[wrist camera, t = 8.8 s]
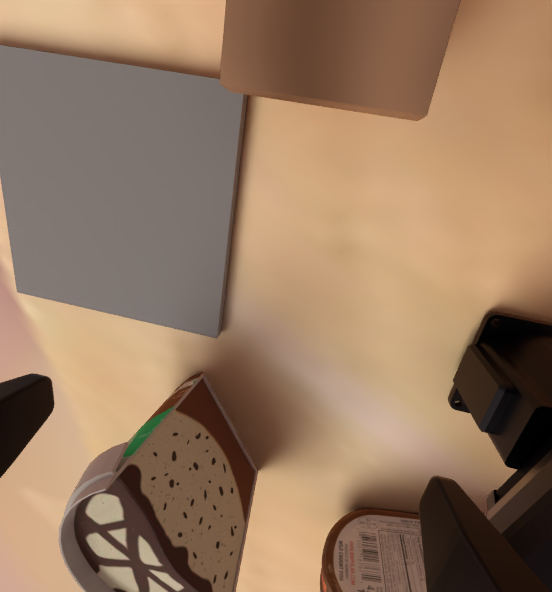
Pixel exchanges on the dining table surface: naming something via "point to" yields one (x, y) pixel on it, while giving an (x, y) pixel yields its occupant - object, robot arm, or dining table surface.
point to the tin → (374, 553)
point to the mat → (120, 186)
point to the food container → (164, 503)
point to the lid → (338, 52)
